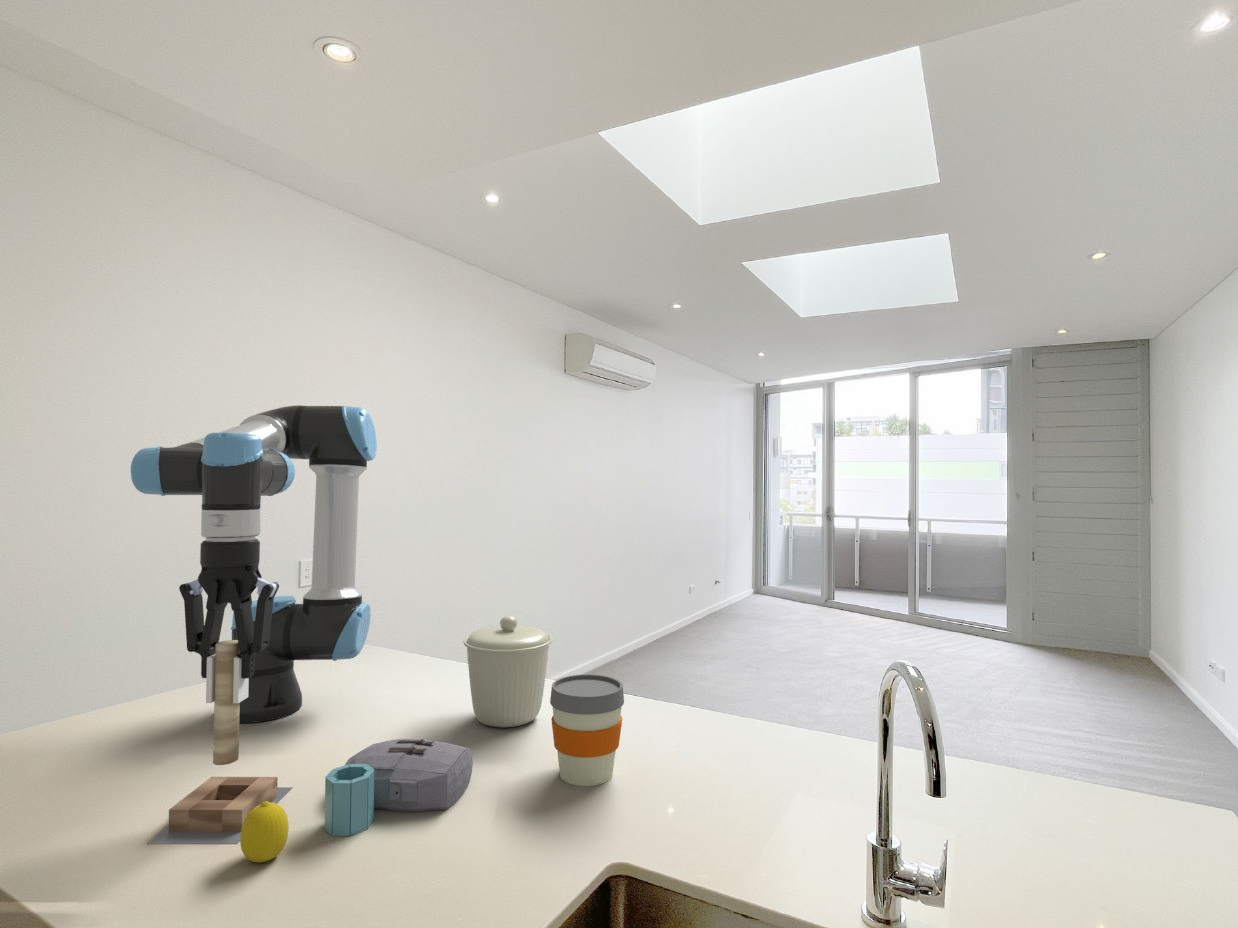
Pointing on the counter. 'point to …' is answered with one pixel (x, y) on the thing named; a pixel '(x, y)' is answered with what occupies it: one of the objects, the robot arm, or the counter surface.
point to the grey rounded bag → (416, 773)
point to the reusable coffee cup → (586, 726)
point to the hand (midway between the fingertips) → (227, 699)
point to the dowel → (225, 705)
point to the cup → (349, 799)
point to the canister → (507, 672)
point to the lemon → (264, 832)
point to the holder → (221, 804)
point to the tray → (206, 837)
